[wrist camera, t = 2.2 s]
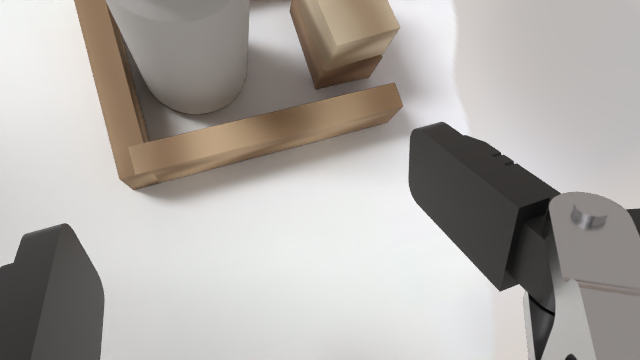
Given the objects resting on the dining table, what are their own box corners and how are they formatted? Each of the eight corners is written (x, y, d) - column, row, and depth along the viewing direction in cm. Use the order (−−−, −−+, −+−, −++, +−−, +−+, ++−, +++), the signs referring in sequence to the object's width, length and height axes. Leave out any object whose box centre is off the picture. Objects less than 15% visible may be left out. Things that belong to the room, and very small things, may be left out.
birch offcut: (326, 70, 26) (336, 46, 23) (290, -13, 27) (296, -47, 24) (383, 53, 27) (399, 27, 24) (346, -27, 28) (358, -62, 25)
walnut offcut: (315, 90, 29) (323, 70, 26) (289, 13, 30) (294, -16, 27) (368, 78, 30) (382, 57, 27) (341, 3, 31) (352, -25, 28)
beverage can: (122, 75, 26) (32, -77, 15) (191, 9, 28) (158, -173, 17) (203, 138, 27) (174, 35, 15) (266, 68, 28) (285, -73, 17)
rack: (133, 189, 25) (119, 179, 22) (83, -3, 27) (65, -35, 24) (387, 122, 29) (403, 105, 26) (328, -41, 31) (337, -73, 28)
